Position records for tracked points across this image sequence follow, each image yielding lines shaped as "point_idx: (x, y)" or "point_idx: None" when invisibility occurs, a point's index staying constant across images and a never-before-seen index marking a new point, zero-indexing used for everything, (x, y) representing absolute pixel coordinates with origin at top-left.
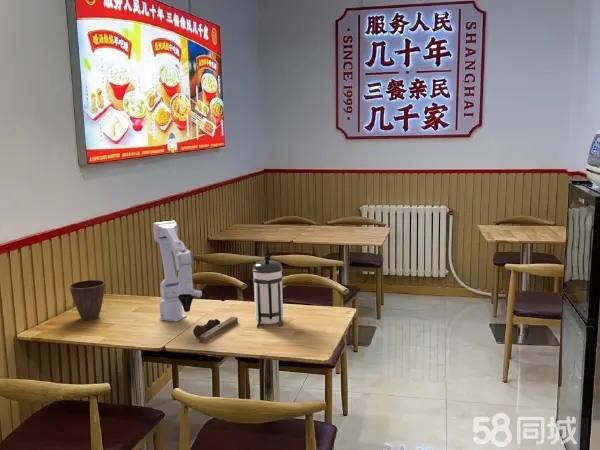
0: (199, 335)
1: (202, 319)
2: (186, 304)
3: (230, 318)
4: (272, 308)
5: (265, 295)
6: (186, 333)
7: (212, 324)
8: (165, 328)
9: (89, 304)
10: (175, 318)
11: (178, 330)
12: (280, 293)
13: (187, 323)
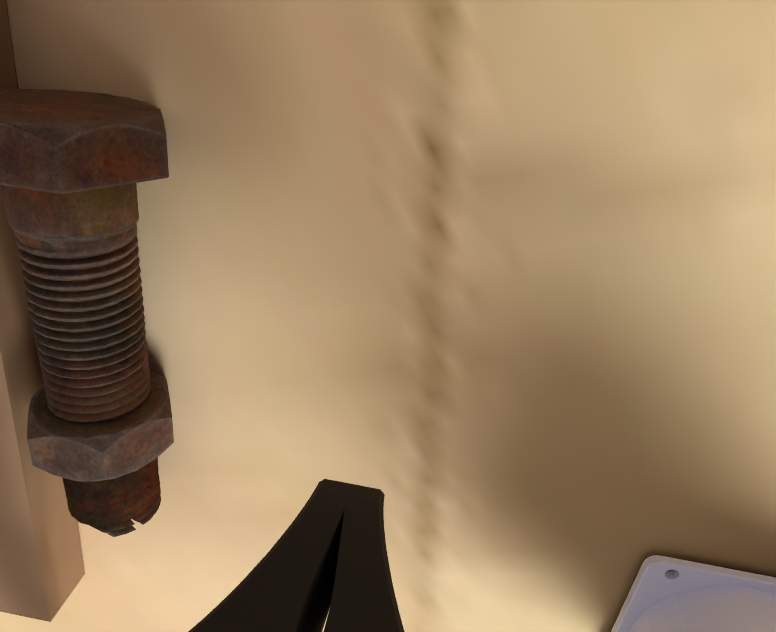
0: (75, 98)
1: None
2: (246, 600)
3: (25, 580)
4: None
5: None
6: (358, 230)
7: (45, 385)
8: (721, 357)
9: None
10: (681, 603)
11: (512, 314)
12: None
13: (499, 521)
